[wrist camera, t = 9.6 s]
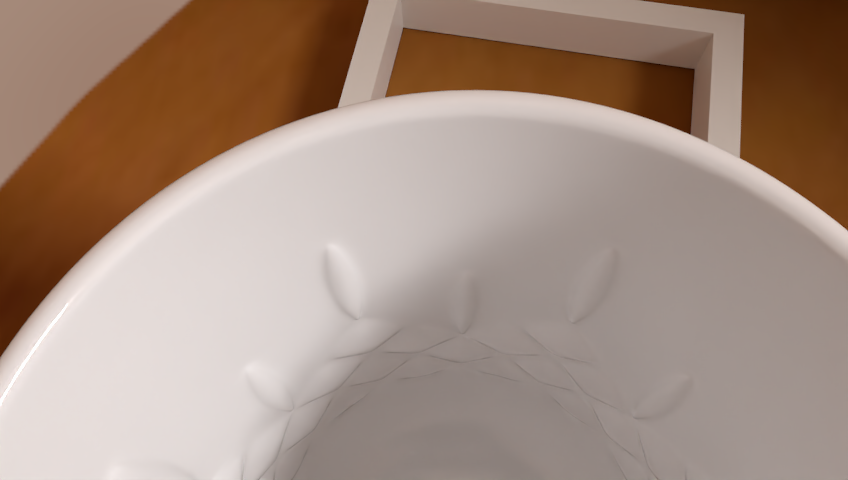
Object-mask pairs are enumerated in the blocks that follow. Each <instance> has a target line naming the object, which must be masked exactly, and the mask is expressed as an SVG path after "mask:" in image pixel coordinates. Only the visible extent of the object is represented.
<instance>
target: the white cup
mask: <svg viewBox="0 0 848 480" xmlns="http://www.w3.org/2000/svg"><path fill="white" fill-rule="evenodd" d="M0 480H848V231H847V230H846V229H845V228H844V227H843V226H841V225H840V224H839V223H838V222H836V221H835V220H834V219H833V218H831V217H830V216H829V215H827V214H826V213H825V212H823V211H822V210H821V209H819V208H818V207H817V206H815V205H814V204H813V203H811V202H810V201H808V200H807V199H806V198H804V197H803V196H801V195H800V194H798V193H797V192H795V191H794V190H792V189H791V188H789V187H788V186H786V185H785V184H783V183H782V182H780V181H778V180H777V179H775V178H774V177H772V176H770V175H769V174H767V173H765V172H764V171H762V170H760V169H758V168H757V167H755V166H753V165H752V164H750V163H748V162H746V161H744V160H742V159H741V158H739V157H737V156H735V155H733V154H731V153H729V152H727V151H725V150H723V149H721V148H719V147H717V146H715V145H713V144H710V143H708V142H706V141H704V140H702V139H699V138H697V137H695V136H692V135H690V134H688V133H685V132H683V131H680V130H678V129H675V128H673V127H670V126H667V125H665V124H662V123H659V122H656V121H654V120H651V119H648V118H645V117H642V116H639V115H635V114H632V113H629V112H625V111H622V110H618V109H615V108H611V107H607V106H603V105H598V104H594V103H590V102H585V101H580V100H575V99H570V98H564V97H558V96H551V95H544V94H535V93H526V92H515V91H497V90H451V91H434V92H423V93H413V94H405V95H398V96H391V97H385V98H379V99H374V100H369V101H364V102H360V103H355V104H351V105H347V106H343V107H339V108H335V109H332V110H328V111H325V112H321V113H318V114H315V115H312V116H309V117H306V118H303V119H300V120H297V121H294V122H291V123H289V124H286V125H283V126H281V127H278V128H276V129H273V130H271V131H268V132H266V133H264V134H261V135H259V136H257V137H254V138H252V139H250V140H248V141H246V142H244V143H241V144H239V145H237V146H235V147H233V148H231V149H229V150H227V151H225V152H223V153H222V154H220V155H218V156H216V157H214V158H212V159H211V160H209V161H207V162H205V163H204V164H202V165H200V166H198V167H197V168H195V169H194V170H192V171H190V172H189V173H187V174H185V175H184V176H182V177H181V178H179V179H178V180H176V181H175V182H173V183H172V184H170V185H169V186H167V187H166V188H164V189H163V190H161V191H160V192H159V193H157V194H156V195H154V196H153V197H152V198H150V199H149V200H148V201H146V202H145V203H144V204H142V205H141V206H140V207H139V208H137V209H136V210H135V211H133V212H132V213H131V214H130V215H128V216H127V217H126V218H125V219H124V220H122V221H121V222H120V223H119V224H118V225H116V226H115V227H114V228H113V229H112V230H111V231H110V232H108V233H107V234H106V235H105V236H104V237H103V238H102V239H101V240H100V241H99V242H97V243H96V244H95V245H94V246H93V247H92V248H91V249H90V250H89V251H88V252H87V253H86V254H85V255H84V256H83V257H82V258H81V259H80V260H79V261H78V262H77V263H76V264H75V265H74V266H73V267H72V268H71V269H70V270H69V271H68V272H67V273H66V275H65V276H64V277H63V278H62V279H61V280H60V281H59V282H58V283H57V284H56V286H55V287H54V288H53V289H52V290H51V291H50V292H49V294H48V295H47V296H46V297H45V298H44V299H43V301H42V302H41V303H40V304H39V306H38V307H37V308H36V309H35V310H34V312H33V313H32V314H31V315H30V317H29V318H28V319H27V321H26V322H25V323H24V325H23V326H22V327H21V329H20V330H19V331H18V333H17V334H16V335H15V337H14V338H13V340H12V341H11V342H10V344H9V345H8V347H7V348H6V350H5V351H4V352H3V354H2V355H1V357H0Z"/></svg>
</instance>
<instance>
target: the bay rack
mask: <svg viewBox="0 0 848 480" xmlns="http://www.w3.org/2000/svg"><path fill="white" fill-rule="evenodd" d="M403 28H410V29H417V30H424V31H431V32H438V33H445V34H452V35H459V36H466V37H473V38H480V39H487V40H494V41H501V42H508V43H515V44H522V45H529V46H536V47H543V48H550V49H557V50H564V51H571V52H578V53H585V54H593V55H600V56H607V57H614V58H621V59H628V60H635V61H642V62H649V63H656V64H663V65H670V66H677V67H684V68H691V69H695V73H694V89H693V104H692V120H691V135H692V136H695V137H697V138H699V139H702V140H704V141H706V142H708V143H710V144H713V145H715V146H717V147H719V148H721V149H723V150H725V151H727V152H729V153H731V154H733V155H735V156H737V157H739V158H740V133H741V102H742V72H743V42H744V14H738V13H730V12H723V11H715V10H708V9H700V8H693V7H685V6H678V5H670V4H663V3H655V2H648V1H640V0H369V2H368V6H367V9H366V12H365V16H364V19H363V23H362V26H361V30H360V33H359V36H358V40H357V43H356V47H355V50H354V54H353V57H352V60H351V64H350V67H349V71H348V74H347V78H346V81H345V84H344V88H343V91H342V95H341V98H340V102H339V105H338V108H339V107H343V106H347V105H351V104H355V103H360V102H364V101H369V100H374V99H379V98H385V95H386V91H387V88H388V84H389V80H390V76H391V72H392V69H393V65H394V61H395V57H396V53H397V50H398V46H399V42H400V38H401V34H402V31H403Z"/></svg>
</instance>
